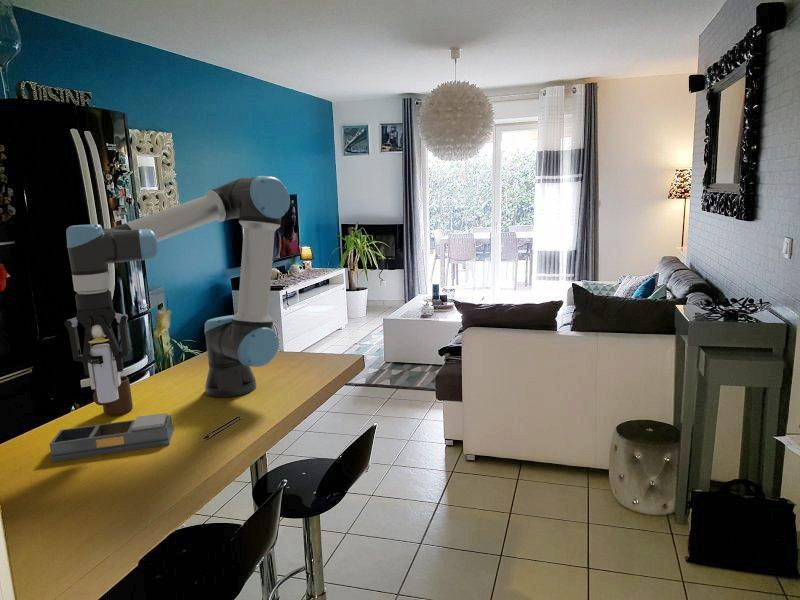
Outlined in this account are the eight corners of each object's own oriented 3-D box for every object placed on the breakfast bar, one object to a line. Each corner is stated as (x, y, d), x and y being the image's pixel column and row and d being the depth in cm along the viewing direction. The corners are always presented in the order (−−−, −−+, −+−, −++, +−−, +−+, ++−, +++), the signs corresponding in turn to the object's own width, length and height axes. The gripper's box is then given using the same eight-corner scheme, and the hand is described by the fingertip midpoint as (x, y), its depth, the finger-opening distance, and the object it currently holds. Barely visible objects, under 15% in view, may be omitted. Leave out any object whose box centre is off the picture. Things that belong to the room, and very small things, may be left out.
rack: (173, 429, 151) (171, 410, 150) (169, 444, 142) (166, 424, 141) (63, 444, 145) (60, 425, 144) (50, 462, 135) (47, 441, 134)
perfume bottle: (108, 397, 145) (97, 319, 141) (127, 399, 143) (116, 319, 139) (90, 405, 139) (77, 324, 135) (109, 407, 137) (97, 325, 134)
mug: (110, 423, 157) (105, 390, 155) (86, 422, 159) (81, 389, 157) (138, 407, 169) (134, 376, 167) (116, 406, 170) (111, 375, 169)
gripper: (136, 285, 142) (148, 377, 146) (56, 291, 137) (70, 386, 142) (130, 290, 134) (143, 386, 139) (45, 297, 130) (61, 396, 134)
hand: (106, 386), depth 140 cm, fingers closed on perfume bottle, 4 cm apart
